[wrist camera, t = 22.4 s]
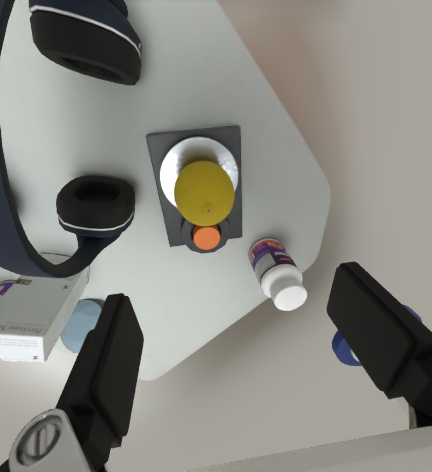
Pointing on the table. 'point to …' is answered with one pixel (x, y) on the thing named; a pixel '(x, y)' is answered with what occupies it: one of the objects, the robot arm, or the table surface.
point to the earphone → (87, 187)
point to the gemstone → (80, 324)
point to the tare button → (206, 236)
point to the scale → (174, 221)
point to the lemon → (204, 193)
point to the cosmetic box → (37, 313)
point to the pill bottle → (277, 274)
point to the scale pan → (191, 153)
